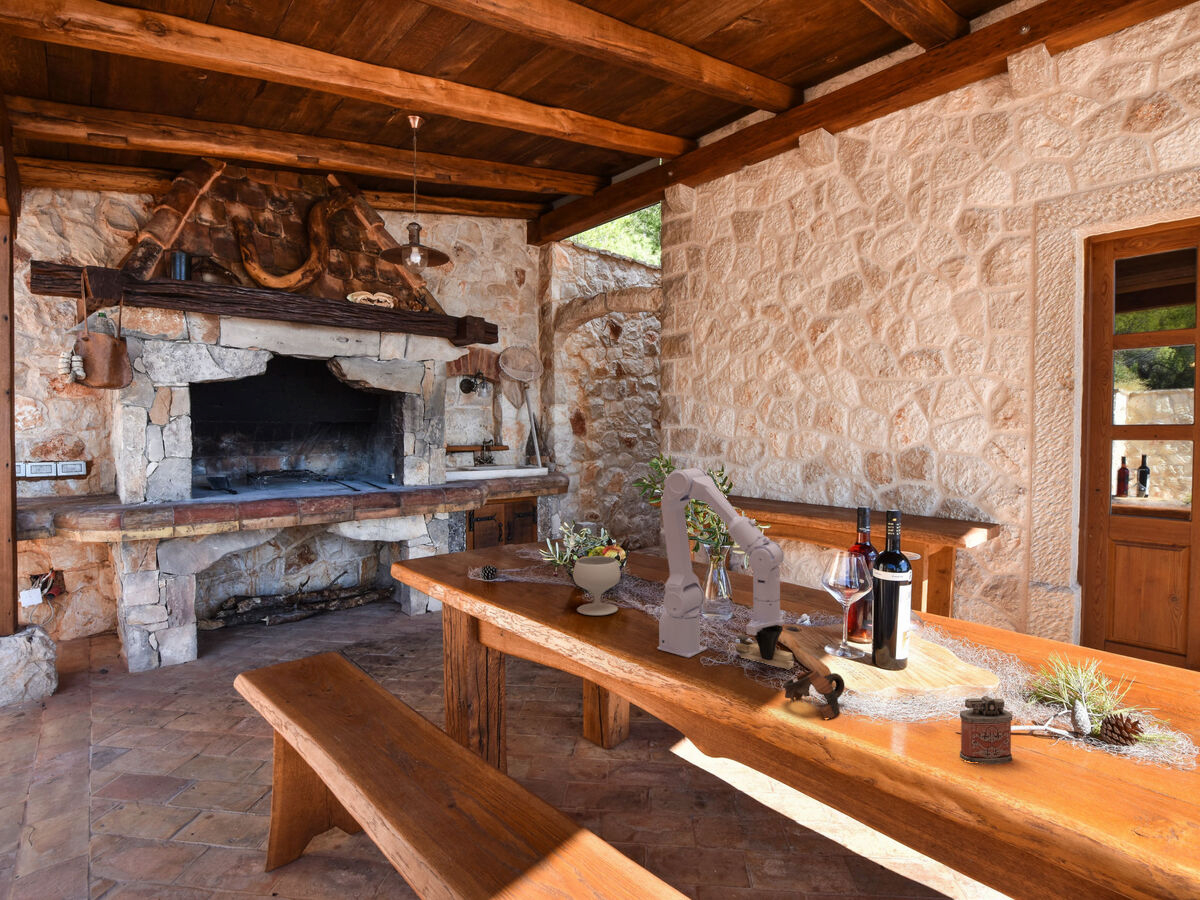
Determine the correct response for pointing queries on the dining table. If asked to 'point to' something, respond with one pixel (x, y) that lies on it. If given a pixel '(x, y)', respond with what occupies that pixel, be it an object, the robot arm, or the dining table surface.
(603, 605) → the chalice
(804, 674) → the dark brown angled piece
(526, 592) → the dining table surface
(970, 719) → the lighter
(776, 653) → the bar
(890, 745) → the dining table surface
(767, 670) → the dining table surface
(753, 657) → the tongs base
